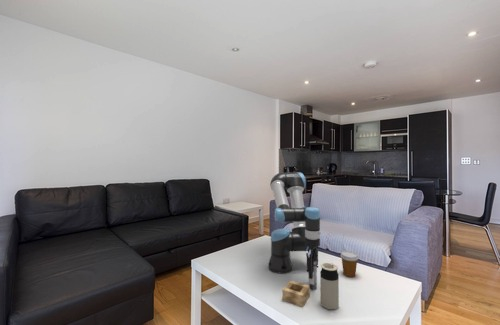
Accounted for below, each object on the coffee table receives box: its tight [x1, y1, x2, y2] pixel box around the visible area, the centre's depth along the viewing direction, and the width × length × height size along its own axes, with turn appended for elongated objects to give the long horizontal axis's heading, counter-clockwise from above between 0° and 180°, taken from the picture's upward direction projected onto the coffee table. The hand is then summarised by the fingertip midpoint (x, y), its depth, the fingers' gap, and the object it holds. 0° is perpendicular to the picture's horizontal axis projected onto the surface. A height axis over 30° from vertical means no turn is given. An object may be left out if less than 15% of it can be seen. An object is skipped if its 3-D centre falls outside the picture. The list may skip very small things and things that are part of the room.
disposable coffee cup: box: [340, 251, 359, 278], centre depth 135 cm, size 10×10×12 cm
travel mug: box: [319, 262, 340, 310], centre depth 107 cm, size 8×8×18 cm
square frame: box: [282, 280, 311, 308], centre depth 112 cm, size 10×10×5 cm
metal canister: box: [308, 260, 318, 291], centre depth 121 cm, size 4×4×14 cm
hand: (312, 281), depth 121 cm, fingers open, 4 cm apart
